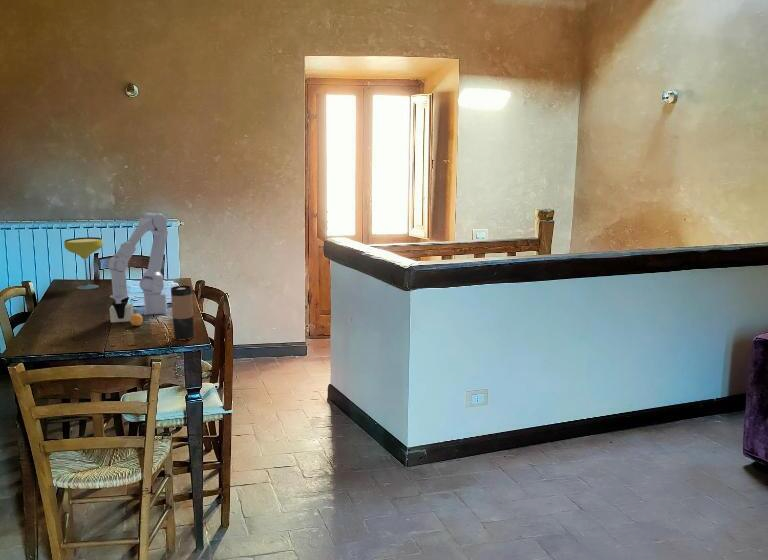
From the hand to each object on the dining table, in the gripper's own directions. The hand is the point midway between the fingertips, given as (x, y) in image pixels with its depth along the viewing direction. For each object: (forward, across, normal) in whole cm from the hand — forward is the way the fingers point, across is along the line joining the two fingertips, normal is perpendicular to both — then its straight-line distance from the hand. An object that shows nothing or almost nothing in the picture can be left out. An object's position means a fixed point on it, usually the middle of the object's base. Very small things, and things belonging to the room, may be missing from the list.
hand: (122, 316), depth 298 cm
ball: (-1, +11, +7) cm, 13 cm away
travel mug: (+2, +35, +27) cm, 44 cm away
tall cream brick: (+2, 0, 0) cm, 2 cm away
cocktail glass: (+2, -74, -26) cm, 78 cm away
